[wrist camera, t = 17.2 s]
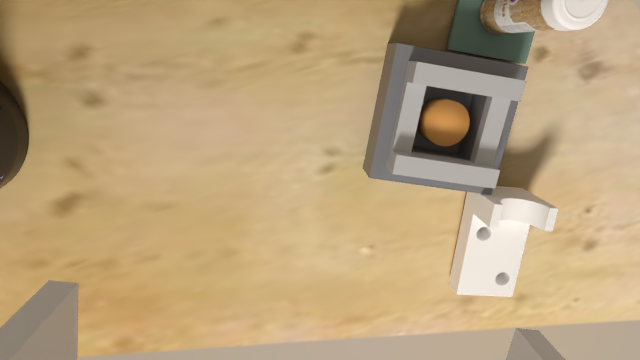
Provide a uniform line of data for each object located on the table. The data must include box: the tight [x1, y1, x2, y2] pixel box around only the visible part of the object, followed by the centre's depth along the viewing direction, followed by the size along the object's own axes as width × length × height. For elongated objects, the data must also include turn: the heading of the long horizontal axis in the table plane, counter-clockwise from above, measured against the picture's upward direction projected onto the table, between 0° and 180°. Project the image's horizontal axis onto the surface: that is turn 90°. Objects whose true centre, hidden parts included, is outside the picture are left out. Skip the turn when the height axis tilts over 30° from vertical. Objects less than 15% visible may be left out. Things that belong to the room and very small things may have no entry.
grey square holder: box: [363, 43, 528, 195], centre depth 45 cm, size 14×14×7 cm
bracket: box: [449, 186, 558, 297], centre depth 50 cm, size 13×7×8 cm, turn 174°
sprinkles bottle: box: [480, 0, 608, 35], centre depth 39 cm, size 5×5×13 cm
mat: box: [447, 0, 535, 64], centre depth 46 cm, size 9×9×1 cm
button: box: [417, 98, 470, 146], centre depth 46 cm, size 5×5×3 cm
